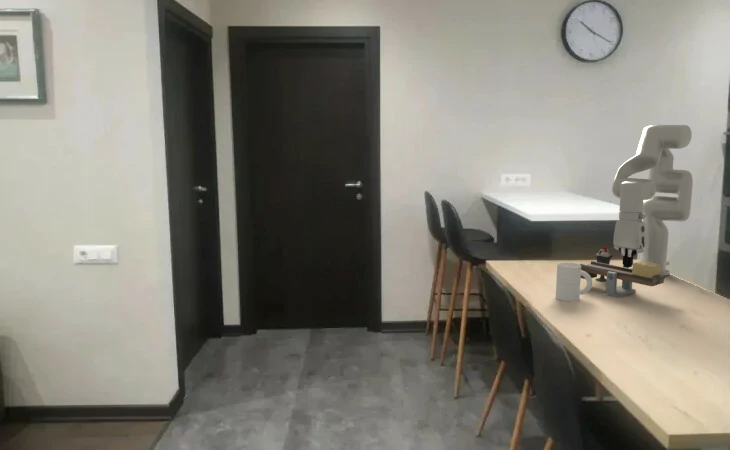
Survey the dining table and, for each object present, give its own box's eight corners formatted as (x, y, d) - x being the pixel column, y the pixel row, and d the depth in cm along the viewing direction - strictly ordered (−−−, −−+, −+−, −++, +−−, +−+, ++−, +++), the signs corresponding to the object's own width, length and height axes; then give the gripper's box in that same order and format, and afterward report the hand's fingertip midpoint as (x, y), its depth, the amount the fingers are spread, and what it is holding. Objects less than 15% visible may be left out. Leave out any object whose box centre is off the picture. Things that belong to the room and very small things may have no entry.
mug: (592, 303, 212) (593, 269, 210) (555, 300, 216) (557, 266, 214) (590, 296, 220) (592, 263, 218) (555, 294, 223) (557, 261, 222)
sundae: (608, 283, 238) (610, 245, 236) (590, 280, 242) (592, 243, 240) (613, 279, 243) (615, 242, 241) (596, 277, 247) (598, 240, 245)
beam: (590, 274, 237) (591, 259, 236) (662, 291, 216) (664, 274, 215) (578, 278, 233) (579, 262, 232) (651, 295, 211) (652, 278, 210)
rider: (640, 274, 220) (641, 260, 219) (660, 278, 215) (661, 264, 214) (631, 277, 216) (632, 263, 216) (651, 281, 211) (652, 267, 210)
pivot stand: (620, 288, 231) (621, 266, 229) (635, 291, 226) (637, 269, 225) (601, 294, 223) (603, 271, 222) (617, 297, 218) (618, 274, 217)
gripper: (656, 217, 215) (653, 269, 218) (616, 212, 226) (613, 261, 229) (645, 220, 210) (642, 272, 213) (605, 215, 222) (602, 264, 225)
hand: (627, 266), depth 221 cm, fingers closed
